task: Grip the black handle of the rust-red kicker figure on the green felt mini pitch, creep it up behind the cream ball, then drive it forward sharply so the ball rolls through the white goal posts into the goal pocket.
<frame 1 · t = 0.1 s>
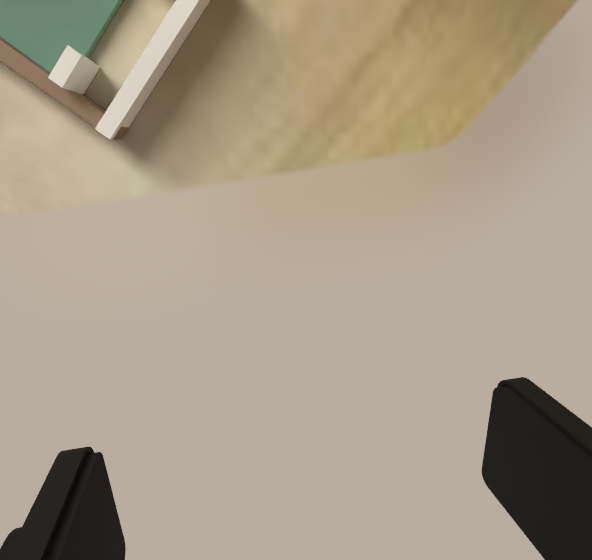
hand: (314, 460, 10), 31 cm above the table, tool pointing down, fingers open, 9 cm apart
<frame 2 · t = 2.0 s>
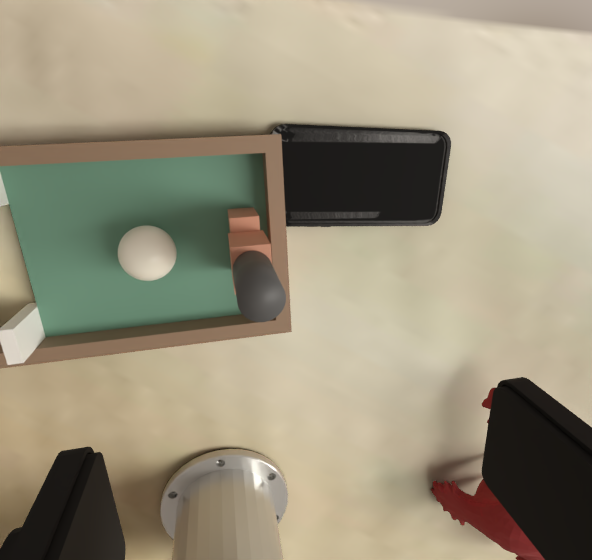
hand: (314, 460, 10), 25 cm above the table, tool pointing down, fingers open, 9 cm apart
ball: (147, 253, 29), point 3 cm above the table, touching pitch
kicker: (250, 262, 26), point 8 cm above the table, slide at 0.0 cm
phone: (356, 178, 34), on the table
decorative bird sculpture: (477, 467, 48), on the table
pitch: (140, 244, 32), on the table
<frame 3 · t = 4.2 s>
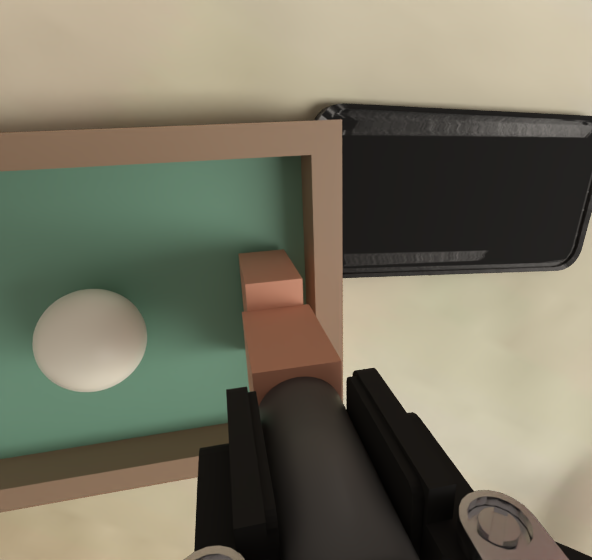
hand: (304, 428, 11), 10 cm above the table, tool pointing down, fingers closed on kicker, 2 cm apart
ball: (93, 339, 16), point 3 cm above the table, touching pitch
kicker: (290, 383, 13), point 8 cm above the table, slide at 0.0 cm, touching gripper
phone: (449, 195, 21), on the table
pitch: (87, 312, 19), on the table
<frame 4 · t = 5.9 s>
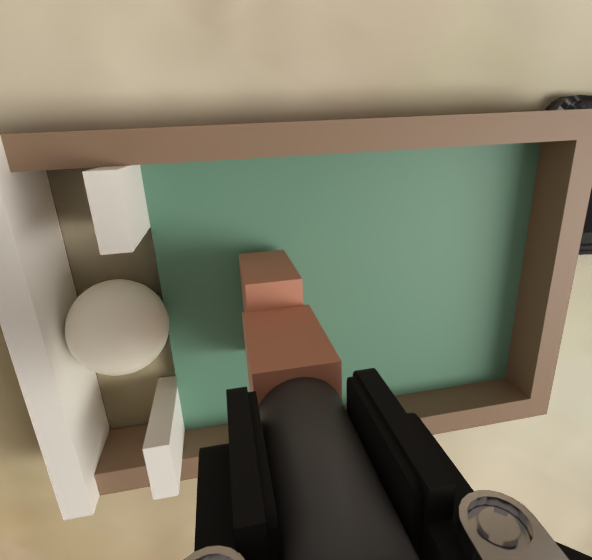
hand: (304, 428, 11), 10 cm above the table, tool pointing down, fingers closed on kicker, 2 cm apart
ball: (119, 326, 17), point 2 cm above the table, tilted 71°
kicker: (290, 384, 13), point 8 cm above the table, slide at 11.5 cm, touching gripper
pitch: (331, 285, 20), on the table
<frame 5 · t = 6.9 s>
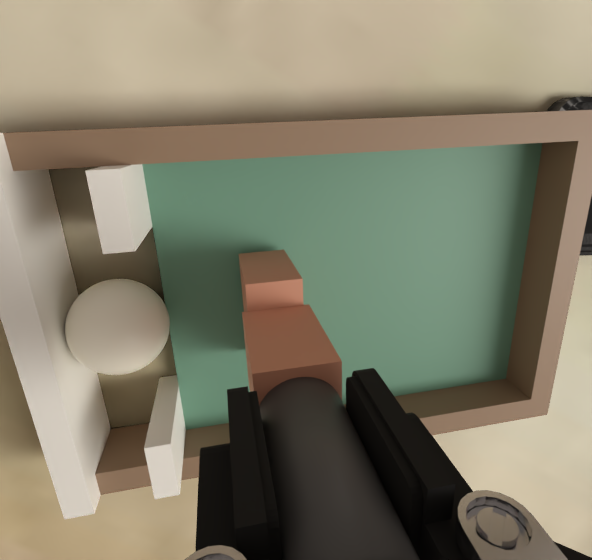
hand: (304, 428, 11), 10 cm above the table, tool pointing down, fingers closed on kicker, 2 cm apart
ball: (119, 326, 17), point 2 cm above the table, tilted 69°
kicker: (290, 384, 13), point 8 cm above the table, slide at 11.6 cm, touching gripper
pitch: (332, 285, 20), on the table
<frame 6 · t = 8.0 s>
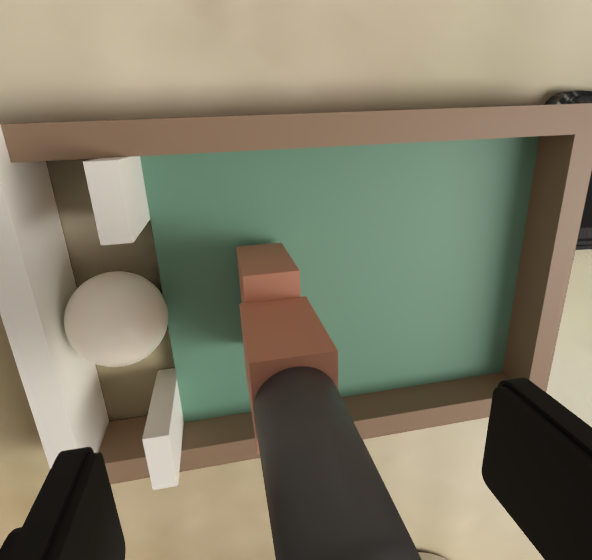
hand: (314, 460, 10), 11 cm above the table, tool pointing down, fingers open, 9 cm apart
ball: (118, 318, 17), point 2 cm above the table, tilted 70°
kicker: (287, 374, 13), point 8 cm above the table, slide at 11.6 cm
pitch: (329, 279, 21), on the table
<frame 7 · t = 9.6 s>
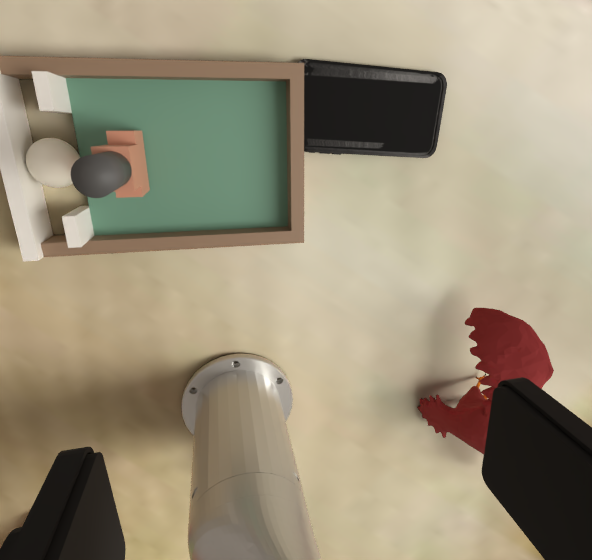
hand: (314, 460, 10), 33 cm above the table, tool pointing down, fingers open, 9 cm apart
ball: (54, 163, 34), point 2 cm above the table, tilted 71°
kicker: (117, 167, 29), point 8 cm above the table, slide at 11.6 cm
phone: (364, 112, 39), on the table
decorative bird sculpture: (459, 390, 54), on the table
pitch: (177, 159, 37), on the table
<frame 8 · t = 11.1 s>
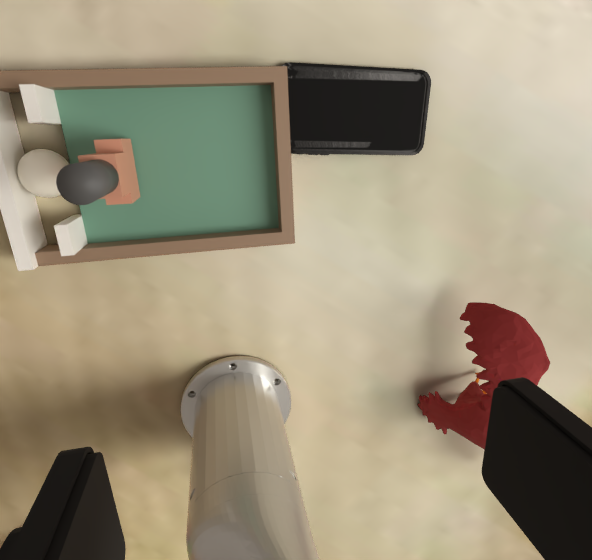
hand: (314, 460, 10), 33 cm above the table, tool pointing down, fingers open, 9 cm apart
ball: (45, 173, 34), point 2 cm above the table, tilted 71°
kicker: (105, 175, 30), point 8 cm above the table, slide at 11.6 cm
phone: (350, 113, 40), on the table
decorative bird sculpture: (459, 386, 54), on the table
pitch: (167, 165, 38), on the table
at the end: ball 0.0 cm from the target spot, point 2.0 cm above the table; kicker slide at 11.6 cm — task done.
